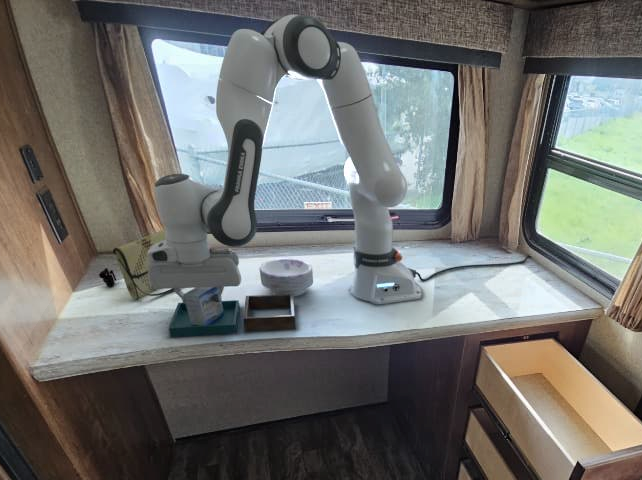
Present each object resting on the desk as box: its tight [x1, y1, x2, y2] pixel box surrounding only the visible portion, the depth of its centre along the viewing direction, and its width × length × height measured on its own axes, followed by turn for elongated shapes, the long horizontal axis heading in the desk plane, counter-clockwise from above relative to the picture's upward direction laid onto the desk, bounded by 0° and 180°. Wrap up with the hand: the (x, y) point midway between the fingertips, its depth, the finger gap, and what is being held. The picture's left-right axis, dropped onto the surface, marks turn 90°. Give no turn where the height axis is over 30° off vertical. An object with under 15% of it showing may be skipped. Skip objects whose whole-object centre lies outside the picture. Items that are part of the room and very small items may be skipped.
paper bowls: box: [259, 258, 314, 298], centre depth 131 cm, size 15×15×8 cm
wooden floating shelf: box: [242, 294, 297, 333], centre depth 118 cm, size 13×14×4 cm
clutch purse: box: [112, 228, 174, 301], centre depth 126 cm, size 30×7×15 cm, turn 167°
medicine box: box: [183, 287, 224, 326], centre depth 112 cm, size 8×4×9 cm, turn 167°
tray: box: [168, 299, 241, 338], centre depth 114 cm, size 15×14×3 cm
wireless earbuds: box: [98, 268, 117, 288], centre depth 124 cm, size 7×2×5 cm, turn 14°
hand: (202, 301), depth 111 cm, fingers closed on medicine box, 6 cm apart
